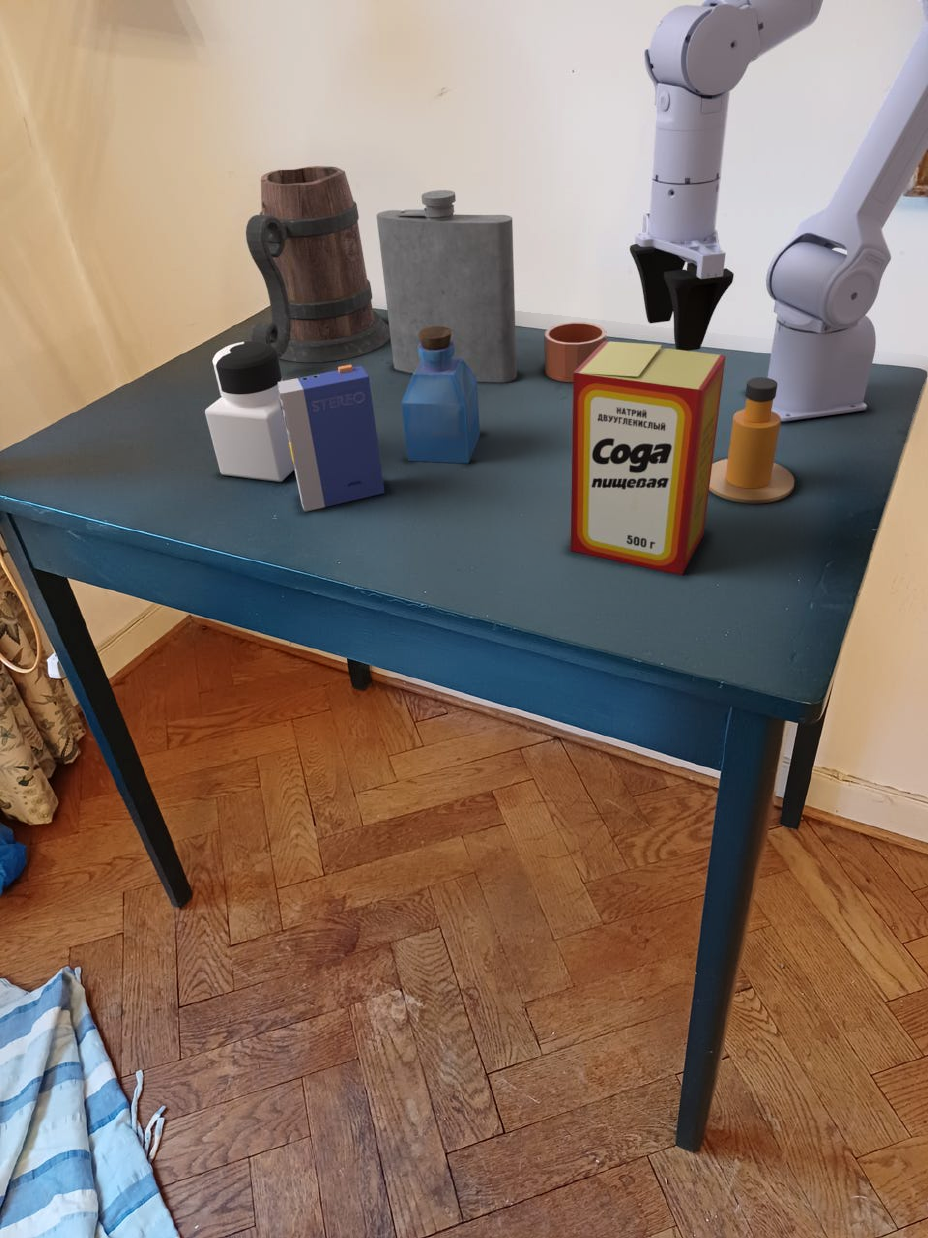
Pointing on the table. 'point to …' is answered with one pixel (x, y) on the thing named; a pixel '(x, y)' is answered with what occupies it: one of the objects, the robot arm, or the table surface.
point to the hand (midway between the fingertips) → (672, 334)
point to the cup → (570, 347)
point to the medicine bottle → (249, 414)
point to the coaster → (771, 492)
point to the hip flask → (450, 284)
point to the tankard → (313, 268)
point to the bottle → (754, 437)
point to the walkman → (332, 436)
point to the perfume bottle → (440, 403)
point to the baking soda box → (643, 452)
